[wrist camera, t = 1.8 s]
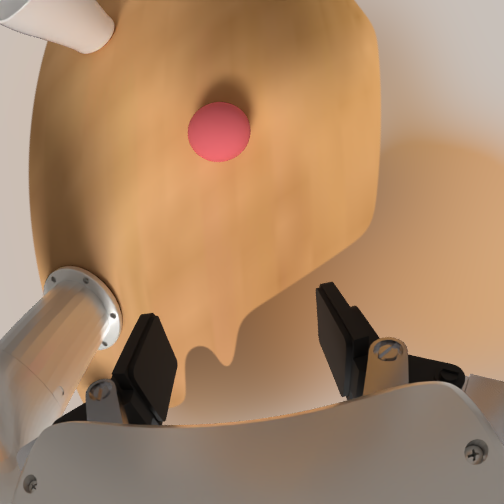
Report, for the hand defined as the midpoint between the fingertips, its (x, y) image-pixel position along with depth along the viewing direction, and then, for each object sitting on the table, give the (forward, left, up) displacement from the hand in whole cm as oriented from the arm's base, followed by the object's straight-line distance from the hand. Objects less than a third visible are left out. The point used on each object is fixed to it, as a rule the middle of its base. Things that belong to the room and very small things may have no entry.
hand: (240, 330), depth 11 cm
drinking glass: (+12, +26, -18) cm, 34 cm away
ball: (+7, +6, -15) cm, 18 cm away
